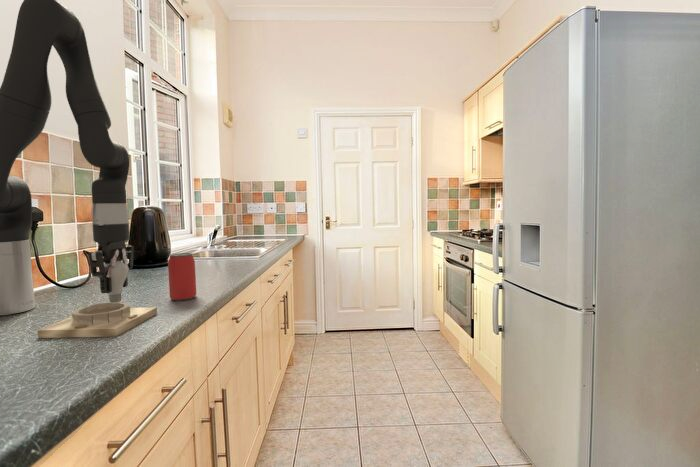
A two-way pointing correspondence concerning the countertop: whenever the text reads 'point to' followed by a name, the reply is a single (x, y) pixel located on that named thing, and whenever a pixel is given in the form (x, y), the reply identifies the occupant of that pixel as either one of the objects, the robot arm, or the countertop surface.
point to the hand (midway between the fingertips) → (114, 289)
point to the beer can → (182, 276)
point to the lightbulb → (117, 280)
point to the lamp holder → (98, 321)
